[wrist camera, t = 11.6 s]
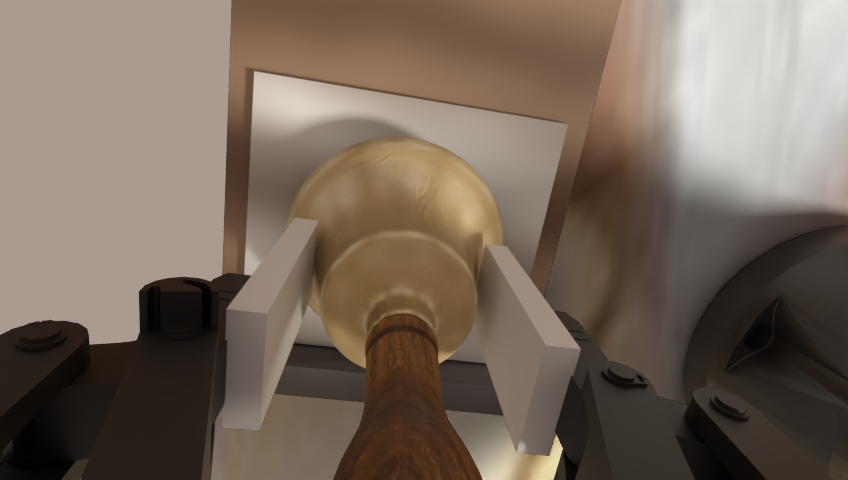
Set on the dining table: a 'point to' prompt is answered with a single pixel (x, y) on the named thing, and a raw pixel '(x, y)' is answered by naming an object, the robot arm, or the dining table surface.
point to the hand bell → (399, 292)
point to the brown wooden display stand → (409, 130)
